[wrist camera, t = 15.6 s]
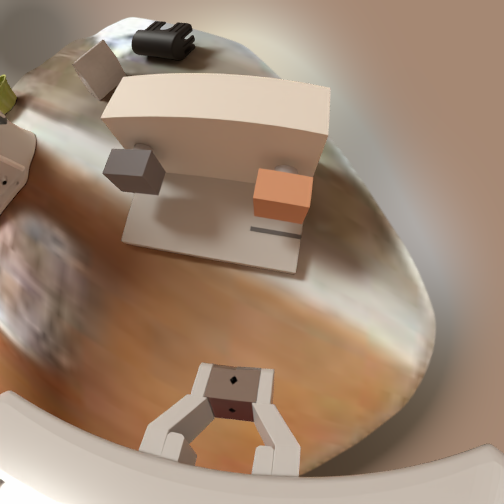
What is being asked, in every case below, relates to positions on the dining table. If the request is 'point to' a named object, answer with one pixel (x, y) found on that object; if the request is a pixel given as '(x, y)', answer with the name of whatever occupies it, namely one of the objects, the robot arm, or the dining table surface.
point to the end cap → (164, 41)
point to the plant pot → (6, 96)
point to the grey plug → (135, 170)
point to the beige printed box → (99, 70)
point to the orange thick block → (282, 194)
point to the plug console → (218, 160)
